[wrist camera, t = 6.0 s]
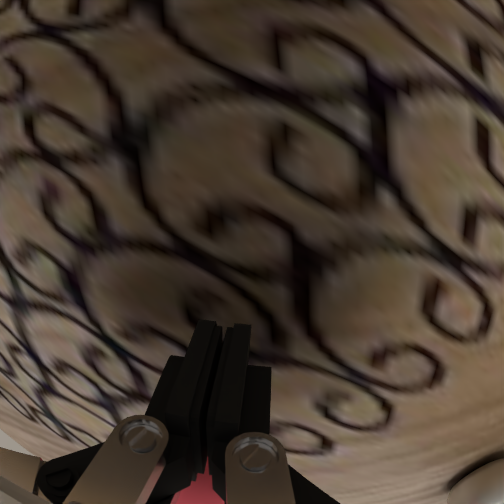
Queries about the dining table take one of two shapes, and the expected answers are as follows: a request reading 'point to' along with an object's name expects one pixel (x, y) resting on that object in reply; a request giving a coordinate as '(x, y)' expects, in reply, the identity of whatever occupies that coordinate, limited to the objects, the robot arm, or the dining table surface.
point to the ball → (200, 491)
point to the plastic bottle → (480, 486)
